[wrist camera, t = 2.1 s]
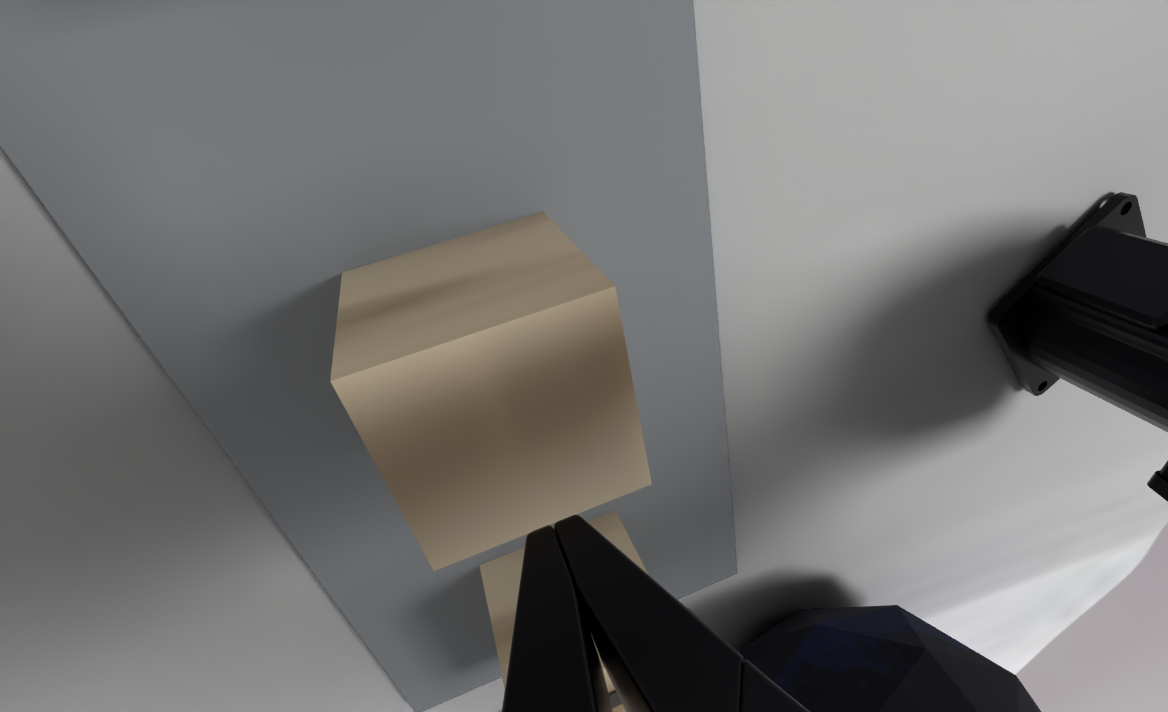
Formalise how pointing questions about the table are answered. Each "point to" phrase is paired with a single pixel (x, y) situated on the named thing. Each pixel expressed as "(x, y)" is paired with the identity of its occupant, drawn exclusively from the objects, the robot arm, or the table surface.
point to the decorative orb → (881, 665)
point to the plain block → (490, 385)
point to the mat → (381, 243)
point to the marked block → (504, 589)
